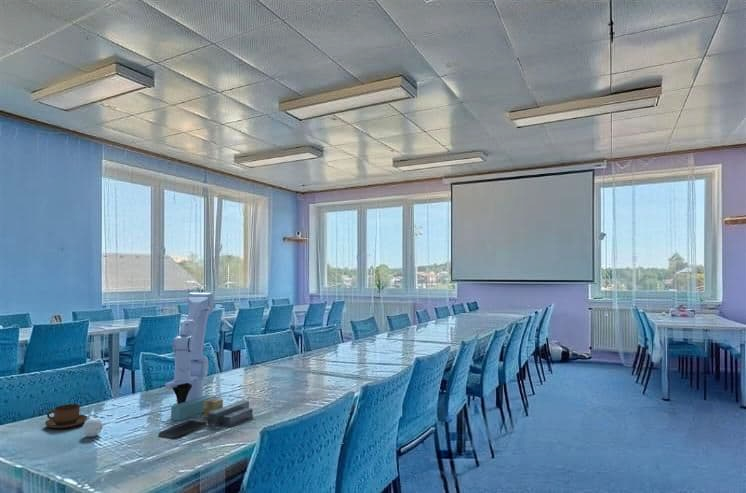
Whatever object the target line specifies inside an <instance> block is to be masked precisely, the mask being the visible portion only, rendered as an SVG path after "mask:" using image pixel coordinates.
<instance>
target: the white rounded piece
mask: <svg viewBox="0 0 746 493" xmlns="http://www.w3.org/2000/svg"><path fill="white" fill-rule="evenodd" d="M83 423H84V424H83V425H82V428H81V429H82V432H83V435H84V436H86V437H89V438H93V437H96V436H98V435H99V434H100V433H101V432H102V430H103V424H105V422H102V420H100V418H97V417H92V418H89V419H86V421H85V422H83Z"/></svg>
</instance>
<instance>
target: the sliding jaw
mask: <svg viewBox="0 0 746 493" xmlns="http://www.w3.org/2000/svg"><path fill="white" fill-rule="evenodd" d="M211 398H217V397H216V395H211V394H206V395H203V396H202V397H199V398H196V399H193V400H190V401H186V402H183V403H180V404H178V403H177V404H174V405H171V406H170V407H171V410H170V419H171V420H175V421H178V422H180V421H183V420H184V419H188V418H190V417H193V416H196V415H199V414H202V413H204V401H206V400H208V399H211Z"/></svg>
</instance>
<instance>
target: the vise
mask: <svg viewBox="0 0 746 493" xmlns="http://www.w3.org/2000/svg"><path fill="white" fill-rule="evenodd" d="M253 409H254V408H251V407H250V401H249V400H244V399H242V400H239V401H236V402H233V403H231V404H228V405H226V406H223V407H222V408H220V409H217V410H214V411H211V412H209V413H208V418H207V427H212V428H216V427H219V426H221V425H222V426H226V427H232V426H234V425H237V424H239V423H242V422H244V421H245V420H248V419H251V418H253V411H254V410H253Z"/></svg>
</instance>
